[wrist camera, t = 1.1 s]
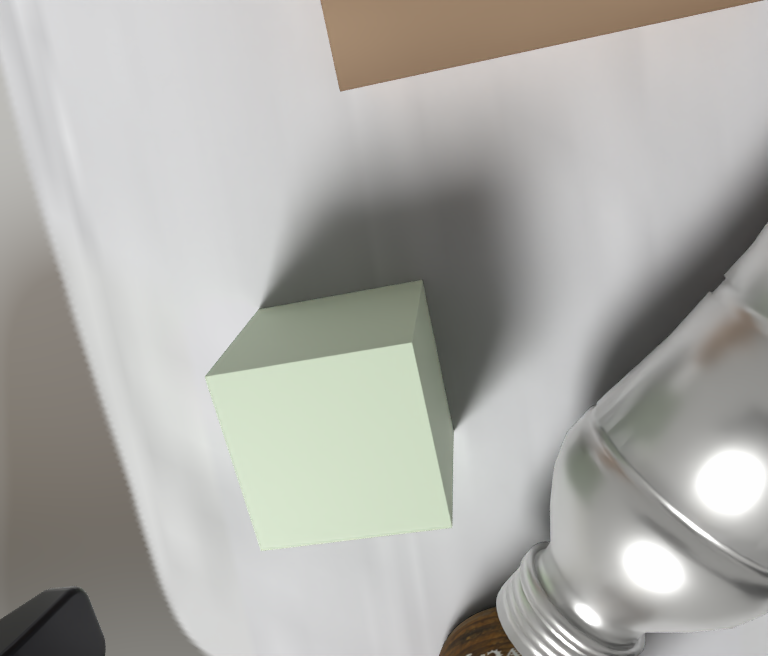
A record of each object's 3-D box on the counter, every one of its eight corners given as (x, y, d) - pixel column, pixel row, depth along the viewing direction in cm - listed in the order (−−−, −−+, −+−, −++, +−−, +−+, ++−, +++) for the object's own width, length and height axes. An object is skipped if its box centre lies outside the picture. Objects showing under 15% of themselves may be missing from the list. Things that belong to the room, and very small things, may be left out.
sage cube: (453, 430, 22) (451, 527, 18) (300, 452, 23) (260, 551, 19) (422, 279, 21) (411, 342, 16) (259, 308, 22) (204, 377, 17)
